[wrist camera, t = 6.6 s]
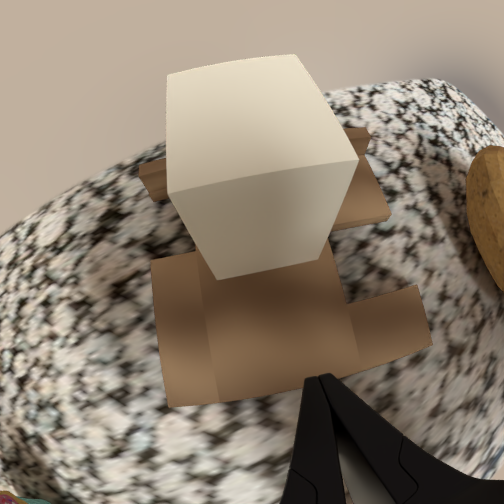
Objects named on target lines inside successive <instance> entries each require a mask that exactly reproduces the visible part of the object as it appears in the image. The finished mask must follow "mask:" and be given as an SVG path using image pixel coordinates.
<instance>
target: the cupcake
mask: <svg viewBox="0 0 504 504" xmlns="http://www.w3.org/2000/svg"><path fill="white" fill-rule="evenodd" d="M0 504H51V503H49V502H48V501H45V500H42V499H27V498H21V497H18V496H15V495H13V494H12V493H10V492H9V491H0Z"/></svg>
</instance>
